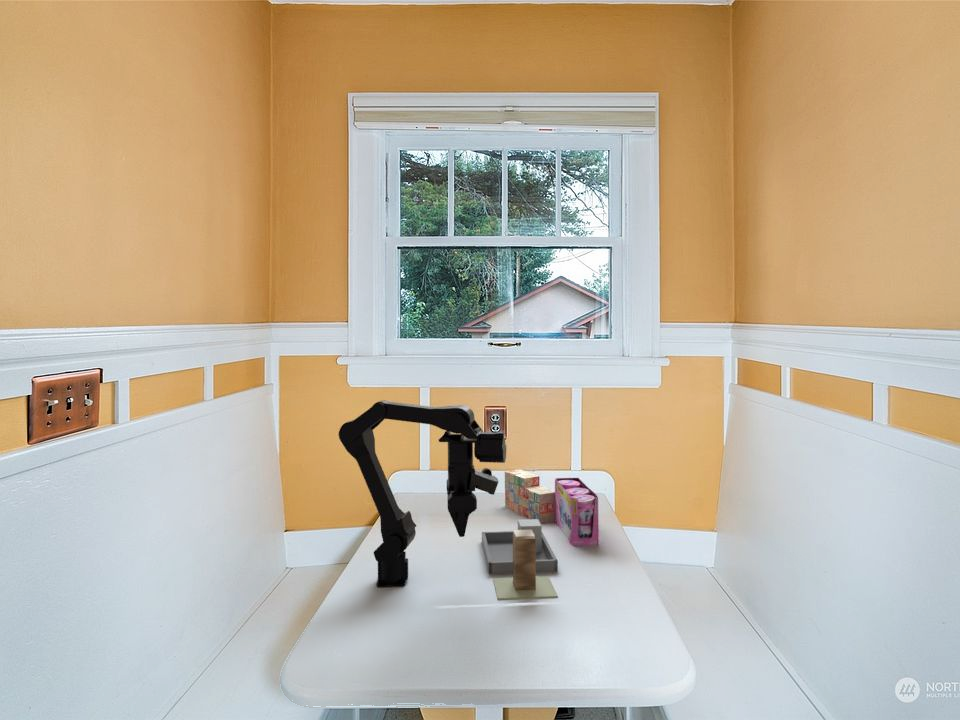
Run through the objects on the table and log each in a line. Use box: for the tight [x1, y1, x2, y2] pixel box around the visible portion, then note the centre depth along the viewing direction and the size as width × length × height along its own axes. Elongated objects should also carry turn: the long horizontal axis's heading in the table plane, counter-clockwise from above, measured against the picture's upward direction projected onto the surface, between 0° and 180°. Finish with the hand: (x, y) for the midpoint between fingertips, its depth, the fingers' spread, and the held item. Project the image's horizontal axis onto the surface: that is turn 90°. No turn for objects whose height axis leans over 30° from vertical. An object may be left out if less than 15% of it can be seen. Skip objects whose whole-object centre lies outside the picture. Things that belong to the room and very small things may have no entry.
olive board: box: [493, 576, 559, 601], centre depth 124 cm, size 13×10×1 cm
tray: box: [481, 530, 559, 575], centre depth 143 cm, size 17×22×3 cm
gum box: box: [554, 477, 600, 547], centre depth 161 cm, size 24×8×14 cm, turn 4°
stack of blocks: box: [504, 468, 555, 524], centre depth 180 cm, size 21×6×12 cm, turn 27°
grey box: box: [517, 518, 543, 552], centre depth 148 cm, size 6×6×7 cm
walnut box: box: [512, 529, 537, 591], centre depth 124 cm, size 4×4×12 cm
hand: (460, 529), depth 126 cm, fingers open, 9 cm apart
